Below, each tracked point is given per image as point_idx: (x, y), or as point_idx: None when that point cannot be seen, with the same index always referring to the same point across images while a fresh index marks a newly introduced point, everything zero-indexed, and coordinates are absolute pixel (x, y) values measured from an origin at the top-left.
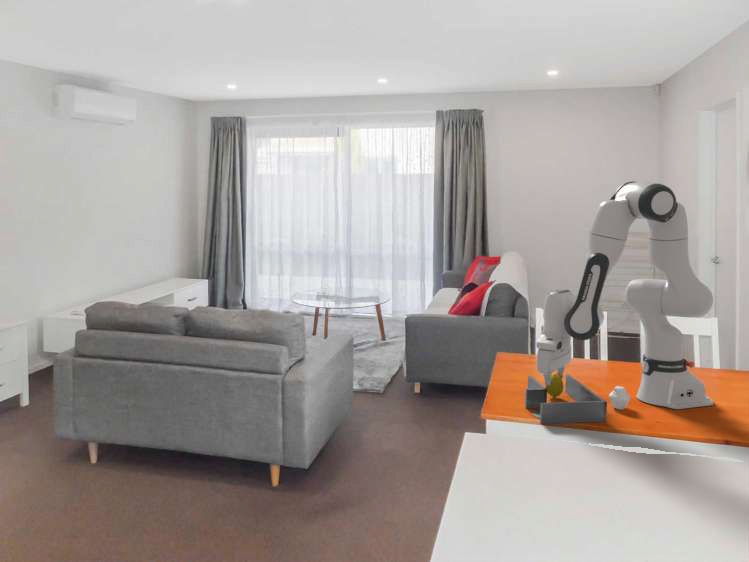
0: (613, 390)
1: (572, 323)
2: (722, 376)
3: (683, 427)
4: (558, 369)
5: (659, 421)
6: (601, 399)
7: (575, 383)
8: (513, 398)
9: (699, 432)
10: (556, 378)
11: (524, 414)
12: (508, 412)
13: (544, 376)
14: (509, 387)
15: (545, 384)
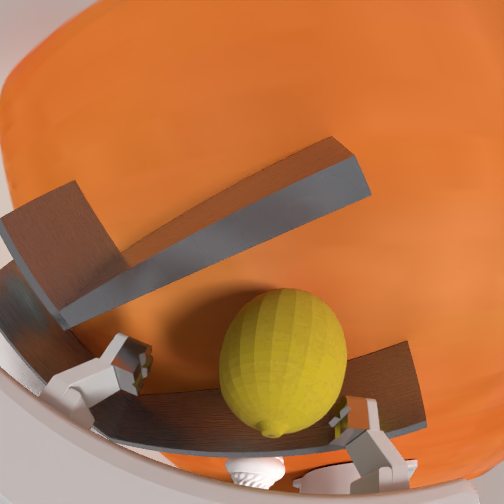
0: (253, 479)
1: None
2: (470, 475)
3: (198, 466)
4: (379, 455)
5: (207, 458)
6: (118, 440)
7: (288, 441)
8: (170, 72)
9: (190, 468)
10: (238, 417)
11: (28, 199)
12: (17, 139)
13: (68, 373)
14: (410, 11)
15: (118, 335)
